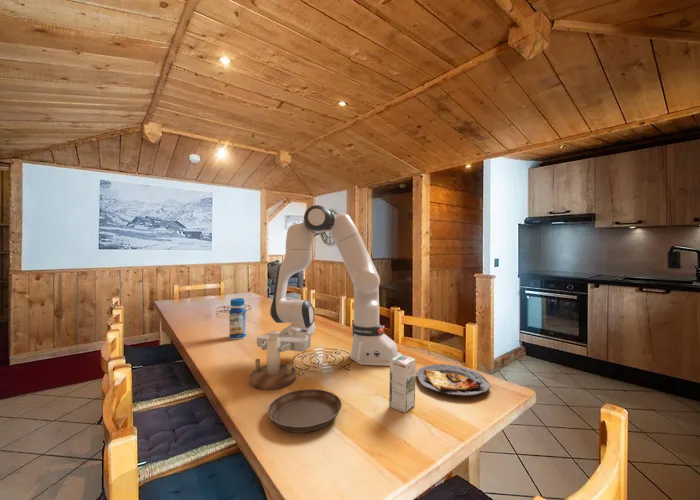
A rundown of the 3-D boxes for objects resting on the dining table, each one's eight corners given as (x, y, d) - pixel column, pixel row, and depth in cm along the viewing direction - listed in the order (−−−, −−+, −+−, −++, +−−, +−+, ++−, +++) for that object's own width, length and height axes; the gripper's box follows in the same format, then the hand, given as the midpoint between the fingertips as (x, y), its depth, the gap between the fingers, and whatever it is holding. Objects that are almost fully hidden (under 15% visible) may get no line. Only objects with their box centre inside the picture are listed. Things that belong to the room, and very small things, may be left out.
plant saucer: (254, 416, 89) (254, 404, 89) (311, 392, 104) (311, 382, 104) (296, 450, 74) (296, 436, 74) (356, 416, 89) (356, 405, 89)
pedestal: (303, 373, 118) (303, 356, 117) (281, 393, 102) (281, 373, 102) (266, 368, 123) (266, 351, 122) (240, 386, 107) (240, 367, 107)
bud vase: (282, 371, 114) (282, 331, 114) (275, 376, 109) (276, 334, 109) (271, 369, 115) (271, 329, 115) (264, 374, 111) (264, 333, 111)
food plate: (501, 401, 97) (501, 390, 97) (426, 401, 97) (426, 390, 97) (471, 370, 122) (471, 361, 122) (411, 370, 122) (411, 361, 122)
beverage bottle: (249, 336, 164) (249, 298, 163) (236, 341, 157) (235, 301, 156) (239, 334, 168) (238, 297, 168) (225, 338, 161) (225, 299, 161)
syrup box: (398, 399, 98) (398, 353, 98) (415, 405, 94) (415, 358, 94) (388, 407, 94) (388, 359, 93) (406, 413, 90) (406, 363, 89)
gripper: (268, 327, 128) (246, 337, 115) (313, 331, 121) (296, 342, 108) (268, 342, 128) (247, 354, 115) (313, 348, 121) (297, 360, 108)
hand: (271, 348), depth 111 cm, fingers open, 6 cm apart
